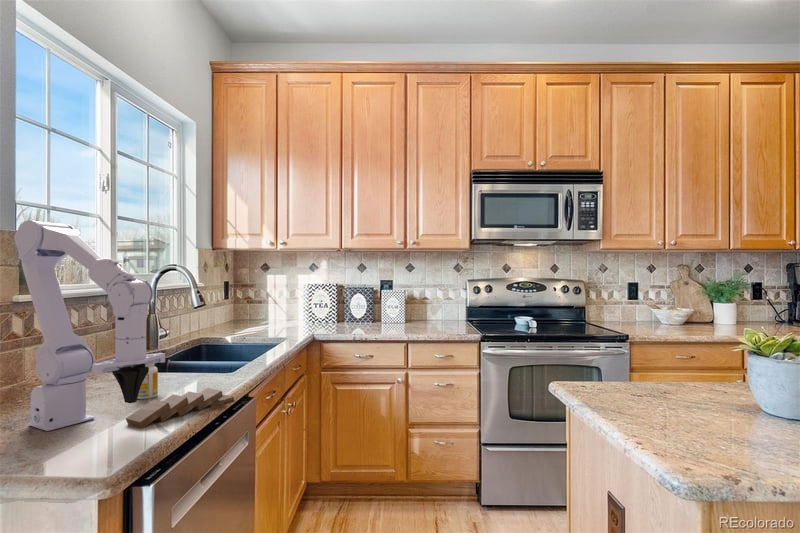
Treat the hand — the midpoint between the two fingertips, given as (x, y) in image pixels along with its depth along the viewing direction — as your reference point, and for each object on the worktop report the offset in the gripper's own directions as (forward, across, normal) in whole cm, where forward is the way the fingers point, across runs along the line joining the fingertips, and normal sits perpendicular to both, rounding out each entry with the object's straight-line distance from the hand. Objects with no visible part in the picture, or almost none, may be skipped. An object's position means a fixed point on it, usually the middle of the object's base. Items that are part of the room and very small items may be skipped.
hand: (130, 402), depth 100 cm
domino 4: (+5, +15, 0) cm, 16 cm away
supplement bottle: (+6, +16, +20) cm, 27 cm away
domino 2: (+5, +5, 0) cm, 7 cm away
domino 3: (+5, +10, 0) cm, 11 cm away
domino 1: (+5, +1, 0) cm, 5 cm away
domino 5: (+5, +18, 0) cm, 19 cm away
